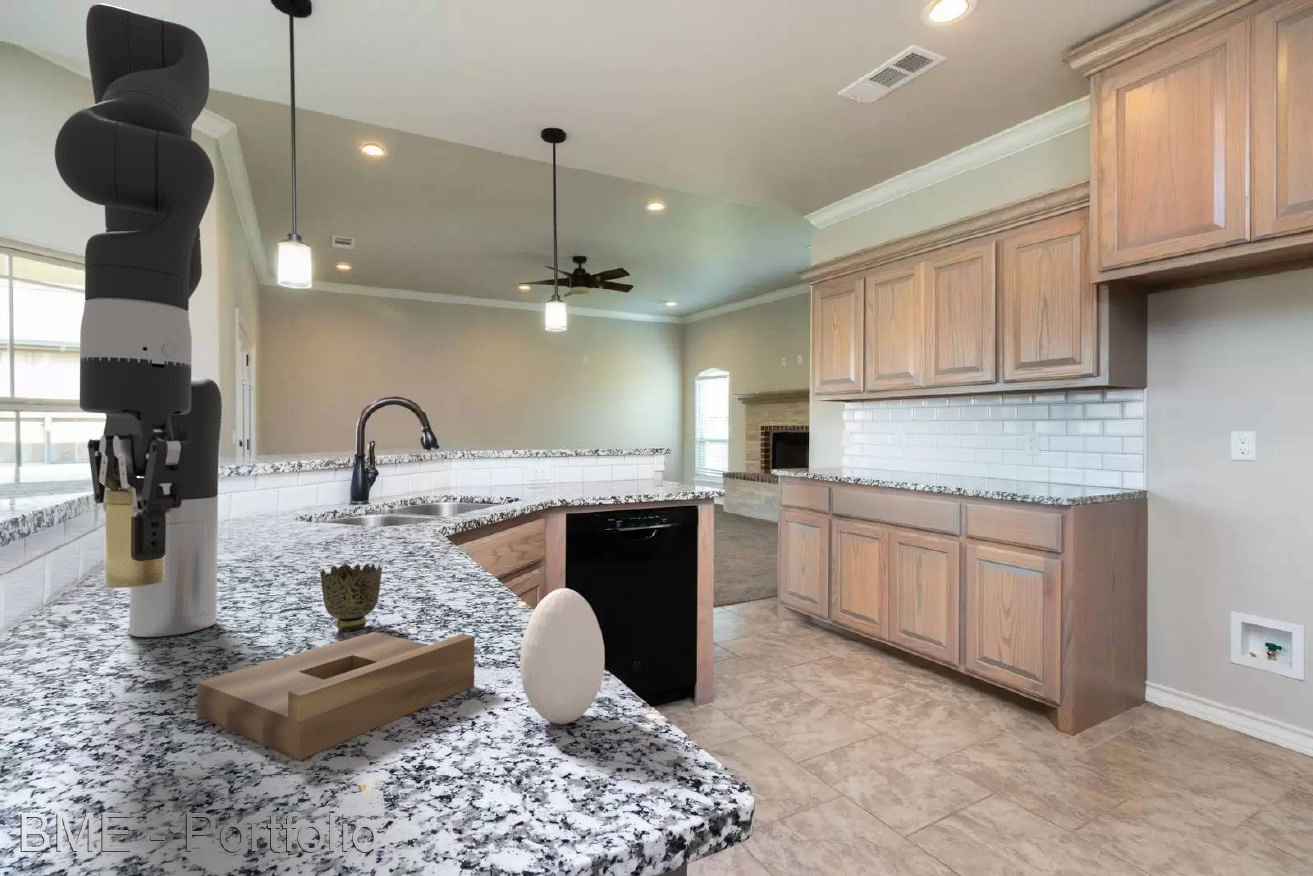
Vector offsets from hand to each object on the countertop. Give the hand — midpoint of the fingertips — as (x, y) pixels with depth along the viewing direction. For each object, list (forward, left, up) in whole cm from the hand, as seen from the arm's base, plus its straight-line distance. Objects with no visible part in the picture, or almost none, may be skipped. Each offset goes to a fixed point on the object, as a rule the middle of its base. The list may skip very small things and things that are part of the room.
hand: (136, 555), depth 56 cm
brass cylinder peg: (0, 0, -2) cm, 2 cm away
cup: (-11, +28, -15) cm, 33 cm away
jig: (+10, +13, -15) cm, 22 cm away
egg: (+31, +20, -15) cm, 40 cm away
